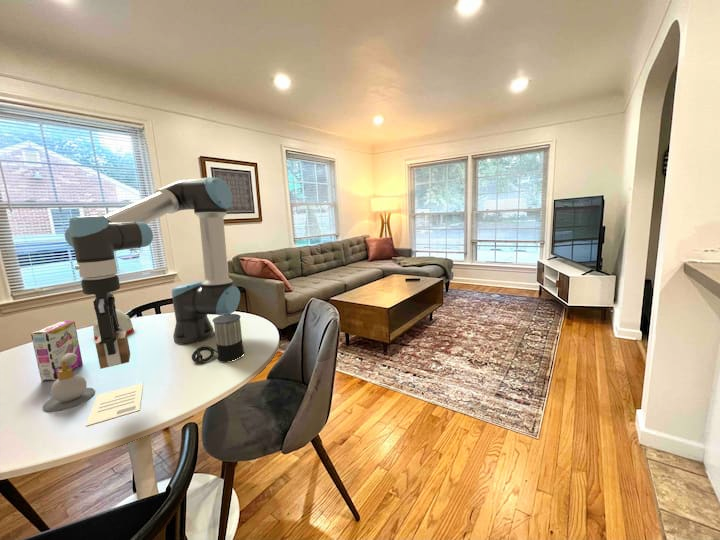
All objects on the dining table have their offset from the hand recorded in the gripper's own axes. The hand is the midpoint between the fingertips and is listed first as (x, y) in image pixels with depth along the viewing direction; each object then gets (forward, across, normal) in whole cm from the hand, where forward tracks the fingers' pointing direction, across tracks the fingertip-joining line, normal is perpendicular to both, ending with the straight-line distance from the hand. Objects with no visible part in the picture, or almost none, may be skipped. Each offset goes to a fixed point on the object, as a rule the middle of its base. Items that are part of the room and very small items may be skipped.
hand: (116, 359), depth 85 cm
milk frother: (+13, -13, +27) cm, 32 cm away
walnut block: (0, 0, 0) cm, 0 cm away
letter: (+13, -1, -2) cm, 13 cm away
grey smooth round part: (+13, -11, -13) cm, 22 cm away
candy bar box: (+13, -34, -19) cm, 41 cm away
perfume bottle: (+13, -12, -13) cm, 22 cm away
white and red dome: (+13, -68, -8) cm, 70 cm away
